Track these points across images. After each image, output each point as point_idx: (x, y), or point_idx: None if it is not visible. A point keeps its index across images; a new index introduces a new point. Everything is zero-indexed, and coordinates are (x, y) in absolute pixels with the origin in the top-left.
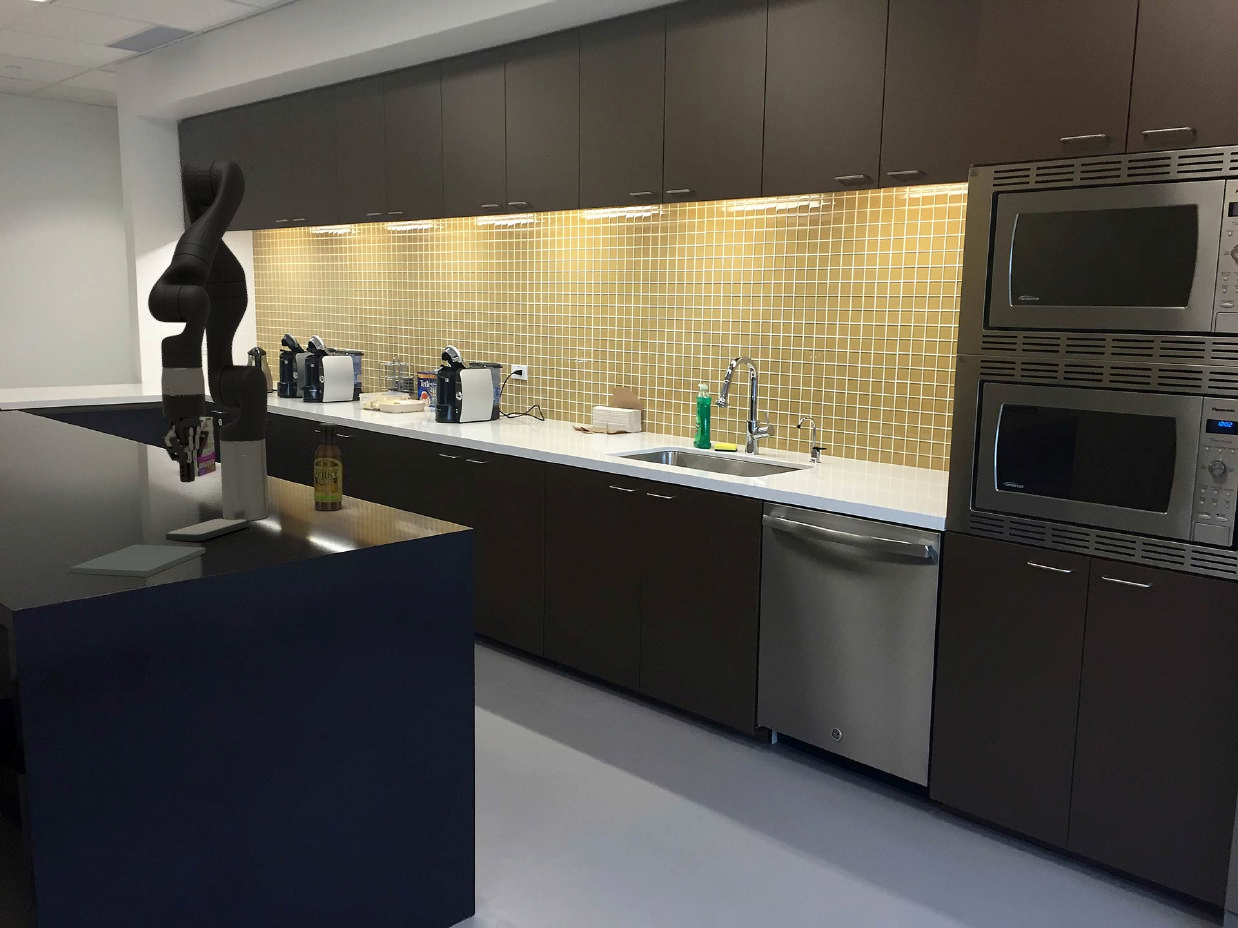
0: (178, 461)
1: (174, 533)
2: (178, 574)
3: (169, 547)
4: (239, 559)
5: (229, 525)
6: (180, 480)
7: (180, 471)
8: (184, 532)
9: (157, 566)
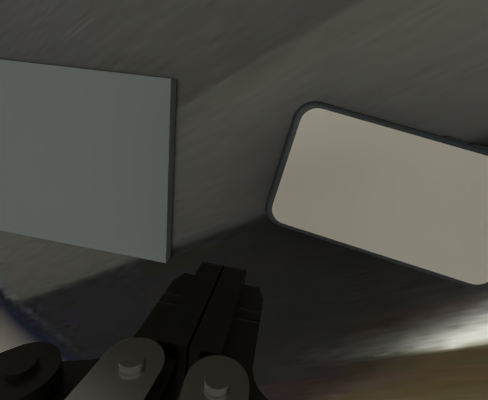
0: (85, 368)
1: (294, 137)
2: (17, 263)
3: (153, 186)
4: (133, 328)
5: (395, 258)
6: (202, 262)
7: (156, 309)
8: (305, 163)
9: (7, 229)
